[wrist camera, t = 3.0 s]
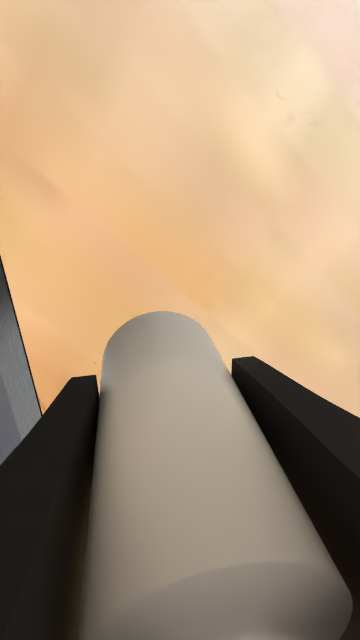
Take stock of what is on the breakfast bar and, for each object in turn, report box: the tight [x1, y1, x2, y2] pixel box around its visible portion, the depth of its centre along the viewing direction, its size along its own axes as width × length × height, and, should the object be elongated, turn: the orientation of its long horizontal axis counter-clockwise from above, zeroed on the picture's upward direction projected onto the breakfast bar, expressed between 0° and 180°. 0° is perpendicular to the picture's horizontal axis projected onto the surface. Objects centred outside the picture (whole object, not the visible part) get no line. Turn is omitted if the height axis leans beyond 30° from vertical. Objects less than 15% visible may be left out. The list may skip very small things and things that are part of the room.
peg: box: [78, 311, 353, 640], centre depth 7 cm, size 4×4×7 cm
